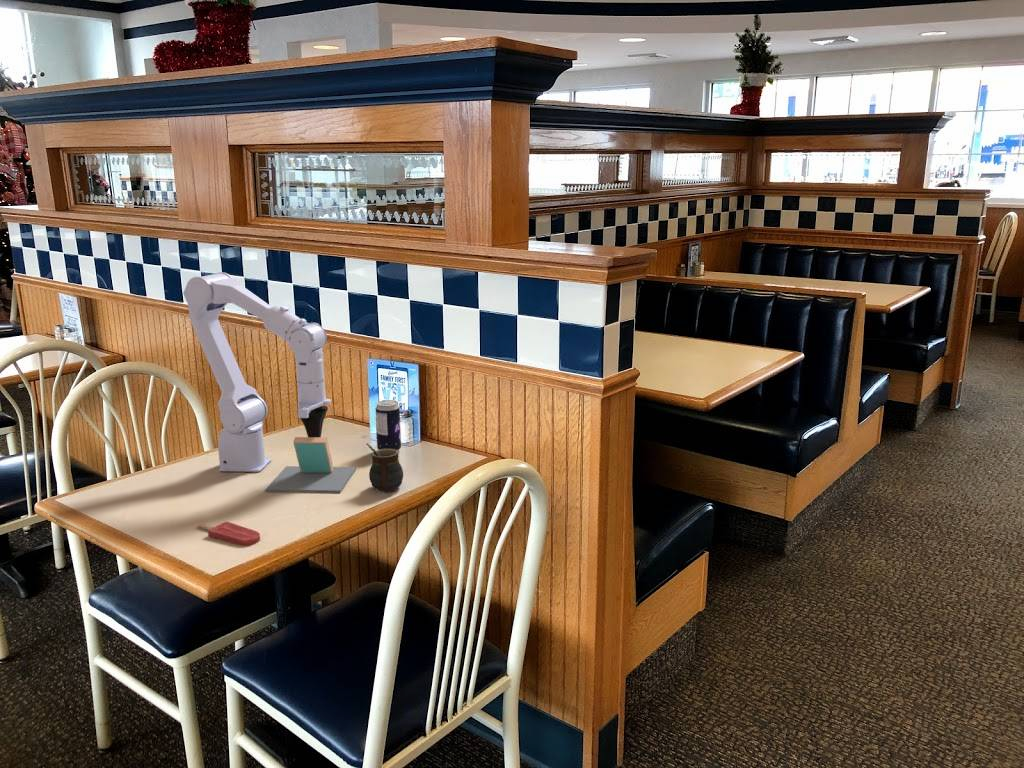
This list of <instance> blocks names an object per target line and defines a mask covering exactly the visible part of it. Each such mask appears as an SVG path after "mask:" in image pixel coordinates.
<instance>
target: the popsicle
mask: <svg viewBox="0 0 1024 768" xmlns="http://www.w3.org/2000/svg"><path fill="white" fill-rule="evenodd" d="M197 526H199V527H200V528H201V527H202V528H204V529H205V528H206V529H208V530H207V535H208V537H209V538H211V539H216V540H219V541H221V542H227V543H230V544H234V545H236V546H237V545H238V546H243V547H245V546H246V547H247V546H252V545H256V544H257V543H259V542H260V541H261V535H260V532H258V531H257V530H253V529H251V528H248V527H246V526H242V525H239V524H236V523H232V522H229V521H223V522H222V523H220V524H218V525H216V526H215V525H214V526H213V525H210V524H207V523H204V522H199V523H197Z"/></svg>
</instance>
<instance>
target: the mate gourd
mask: <svg viewBox="0 0 1024 768" xmlns="http://www.w3.org/2000/svg"><path fill="white" fill-rule="evenodd" d="M365 444H366V446H368V448H369V449H370V450H371V451H372V453H371V459H372V460H371V461H372V463H371V467H370V469H369V473H368V476H369V477H368V478H369V481H370V483H371V487H373V488H374V489H375V490H377V491H378V492H383V493H389V492H393V491H396V490H398V488H399V487H401V485H402V483H403V478H404V469H403V466H402V465H401V463H400V461H399V450H398V451H397V450H394V449H381V450H375V449H374V448H373V447H372V446H371V445H370V444H369V443H367V442H366V443H365Z"/></svg>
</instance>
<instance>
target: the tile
mask: <svg viewBox="0 0 1024 768" xmlns="http://www.w3.org/2000/svg"><path fill="white" fill-rule="evenodd" d="M293 447H294V450H295V451H294V452H295V453H296V459H297V462H298V466H299V467H300V471H301V472H304V473H332V471H333V467H334V464H333V460H332V458H333V457H332V454H331V449H330V445H329V441H328V437H325V436H324V437H322V436H321V437H308V436H305V437H304V436H295V437H294V439H293Z"/></svg>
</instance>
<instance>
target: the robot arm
mask: <svg viewBox="0 0 1024 768" xmlns="http://www.w3.org/2000/svg"><path fill="white" fill-rule="evenodd" d="M182 295H183V296H184V299H185V301H186V303H187V306H188V317H189V321H190V323H191V325H192V328H193V330H194V332H195V335H196V338H197V340H198V342H199V344H200V346H201V348H202V351H203V354H205V355H204V356H205V357H206V360H207V362H208V364H209V366H210V369H211V371H212V374H213V376H214V378H215V381H216V383H217V384H218V387H219V390H220V392H221V395H220V398H219V400H218V402H217V406H218V409H219V412H220V413H219V416H220V422H221V425H222V426H223V427H224V428H223V429H221V430H220V431H219V433H218V440H217V446H218V447H217V448H218V449H217V450H218V459H219V467H220V468H219V469H218V471H219V472H243V473H247V472H249V473H250V472H251V473H253V472H254V473H255V472H256V473H257V472H258V473H260V472H261V471H262V470H263V469H265V467H266V466H267V465H268V464H269V463H271V461H272V457H271V458H270V457H266V454H265V445H264V443H265V442H264V429H263V426H264V420H265V419H266V418H267V415H268V413H269V411H268V405H267V402H266V401H265V400H264V399H263V398H261V396H260V395H259V394H258V391H257V389H256V388H254V387H253V386H251V385H249V384H248V383H247V382H246V380H245V379H244V376H243V374H242V372H241V369H240V366H239V364H238V362H237V360H236V357H235V355H234V353H233V350H232V349H231V346H230V343H229V341H228V339H227V337H226V335H225V332H224V330H223V328H222V325H221V323H220V321H219V317H220V315H221V312H222V310H223V309H224V308H225V307H226V306H227V305H228V304H233V305H235V306H237V307H238V308H241V309H242V310H243V311H246V312H248V313H250V314H251V315H253V316H255V317H257V318H258V319H261V320H262V322H263V323H262V324H263V327H264V328H265V329H266V330H268V331H270V332H271V333H273V334H274V335H276V336H277V337H279V338H281V339H282V340H283V341H285V342H287V343H288V346H289V348H290V350H291V351H292V353H293V356H294V357H293V358H294V360H295V369H296V381H297V383H296V384H297V396H298V400H297V406H298V409H297V417H298V419H299V420H301V422H302V424H303V426H304V429H305V431H306V435H307V437H322V432H323V425H324V420H325V417H326V414H327V412H328V410H329V408H328V406H327V405H330V404H331V403H332V398H327V395H326V387H325V385H326V383H325V370H324V369H325V368H324V367H325V366H324V353H323V347H325V345H326V343H327V337H328V336H327V332H326V330H325V328H323V326H321V325H320V324H319V323H317V322H307V320H306V319H305V318H300V317H299V316H297V315H296V314H294V313H292V312H290V311H289V310H290V309H289V307H288V306H286V305H283V306H282V305H274V306H271V305H270V304H268V303H267V302H266V301H264V300H263V299H261V298H260V297H259V296H257V295H256V294H254V293H253V292H252V291H250V290H249V289H248V288H246V287H245V286H244V285H242V284H241V283H240V281H239V280H238V278H236V277H232V276H231V275H230V274H229V273H227V272H217V273H213V274H208V275H203V276H194V277H191V278H190V279H189V280H188V281H187V283H186V285H185V288H184V290H183V293H182Z"/></svg>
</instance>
